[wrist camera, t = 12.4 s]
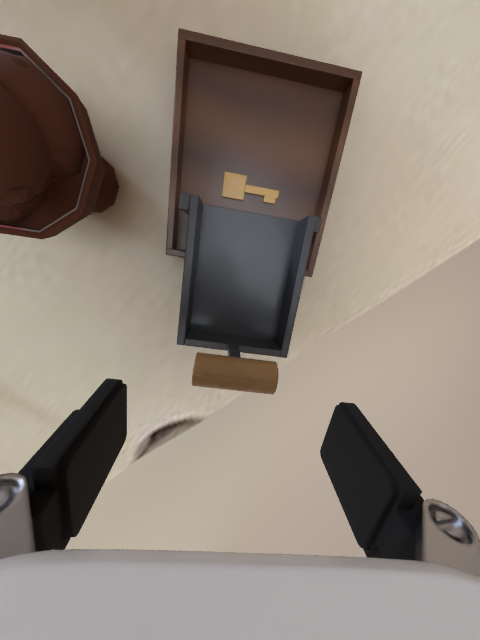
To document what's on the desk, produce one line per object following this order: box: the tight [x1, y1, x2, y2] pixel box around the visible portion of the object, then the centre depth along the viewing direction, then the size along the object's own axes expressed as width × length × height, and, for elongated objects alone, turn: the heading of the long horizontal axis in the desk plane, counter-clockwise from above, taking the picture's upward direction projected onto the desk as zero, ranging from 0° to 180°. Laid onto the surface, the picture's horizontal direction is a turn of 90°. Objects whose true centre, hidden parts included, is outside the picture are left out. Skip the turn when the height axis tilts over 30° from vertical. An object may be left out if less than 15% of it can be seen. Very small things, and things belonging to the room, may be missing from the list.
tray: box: [166, 28, 362, 277], centre depth 21 cm, size 17×15×7 cm
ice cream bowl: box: [0, 34, 119, 239], centre depth 16 cm, size 11×11×15 cm
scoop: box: [177, 194, 317, 394], centre depth 17 cm, size 12×9×8 cm
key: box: [222, 172, 279, 204], centre depth 23 cm, size 6×2×1 cm, turn 81°
